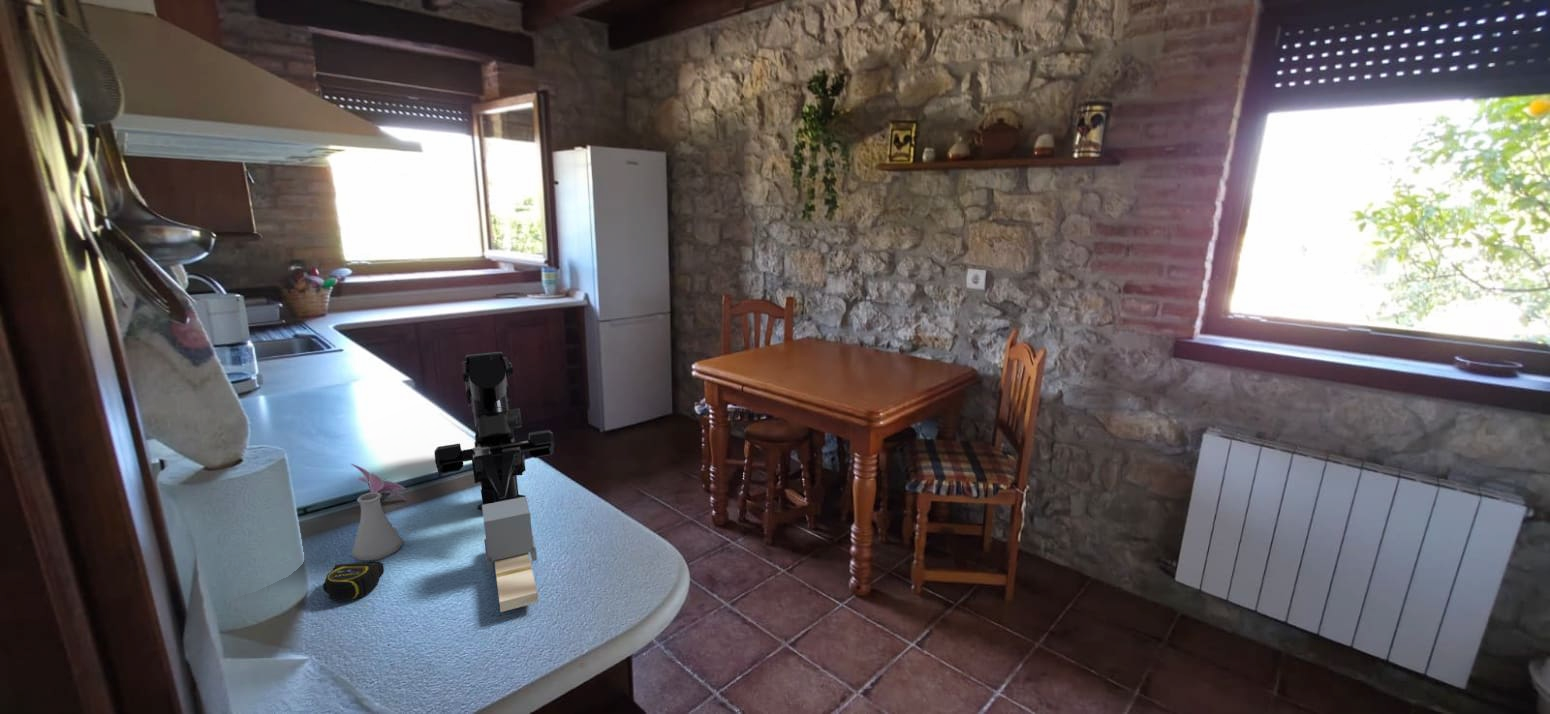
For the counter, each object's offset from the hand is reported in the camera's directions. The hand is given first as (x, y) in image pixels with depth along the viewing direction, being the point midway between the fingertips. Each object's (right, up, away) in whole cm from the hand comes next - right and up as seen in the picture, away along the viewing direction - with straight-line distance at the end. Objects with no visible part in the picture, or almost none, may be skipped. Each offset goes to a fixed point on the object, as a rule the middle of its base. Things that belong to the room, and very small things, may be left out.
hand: (502, 497), depth 107 cm
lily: (-30, -5, +16) cm, 34 cm away
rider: (+3, -9, -4) cm, 10 cm away
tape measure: (-19, -12, -10) cm, 24 cm away
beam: (+5, -11, -7) cm, 14 cm away
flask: (-21, -9, +1) cm, 23 cm away
